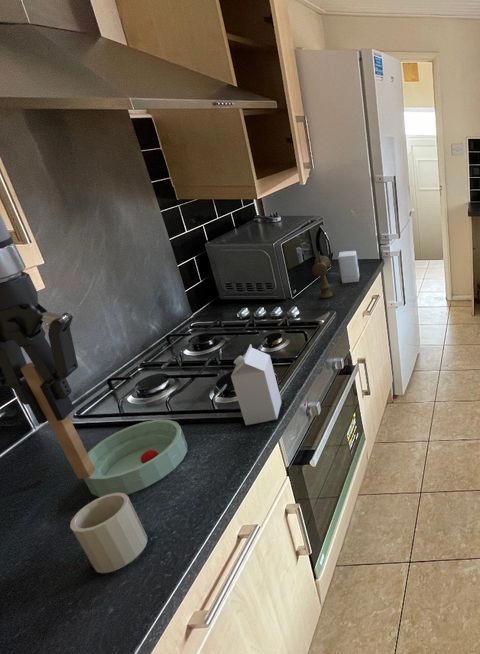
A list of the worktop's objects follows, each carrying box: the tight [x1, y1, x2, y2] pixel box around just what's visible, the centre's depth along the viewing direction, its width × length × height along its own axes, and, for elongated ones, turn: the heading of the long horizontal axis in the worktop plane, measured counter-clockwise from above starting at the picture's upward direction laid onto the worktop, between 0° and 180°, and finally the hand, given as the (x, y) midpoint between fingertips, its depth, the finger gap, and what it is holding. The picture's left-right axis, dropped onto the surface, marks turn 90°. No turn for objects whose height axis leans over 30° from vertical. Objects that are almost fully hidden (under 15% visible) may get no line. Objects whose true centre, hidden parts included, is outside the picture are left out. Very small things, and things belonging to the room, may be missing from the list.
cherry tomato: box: [141, 450, 158, 464], centre depth 92 cm, size 3×3×3 cm
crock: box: [69, 493, 148, 574], centre depth 72 cm, size 7×7×11 cm
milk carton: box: [230, 343, 283, 426], centre depth 104 cm, size 7×7×19 cm
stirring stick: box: [21, 362, 95, 480], centre depth 66 cm, size 2×2×22 cm
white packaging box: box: [337, 250, 360, 284], centre depth 187 cm, size 7×7×13 cm
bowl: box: [83, 419, 188, 498], centre depth 91 cm, size 17×17×6 cm
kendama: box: [311, 251, 334, 299], centre depth 169 cm, size 6×10×20 cm, turn 16°
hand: (57, 415), depth 65 cm, fingers closed on stirring stick, 2 cm apart
